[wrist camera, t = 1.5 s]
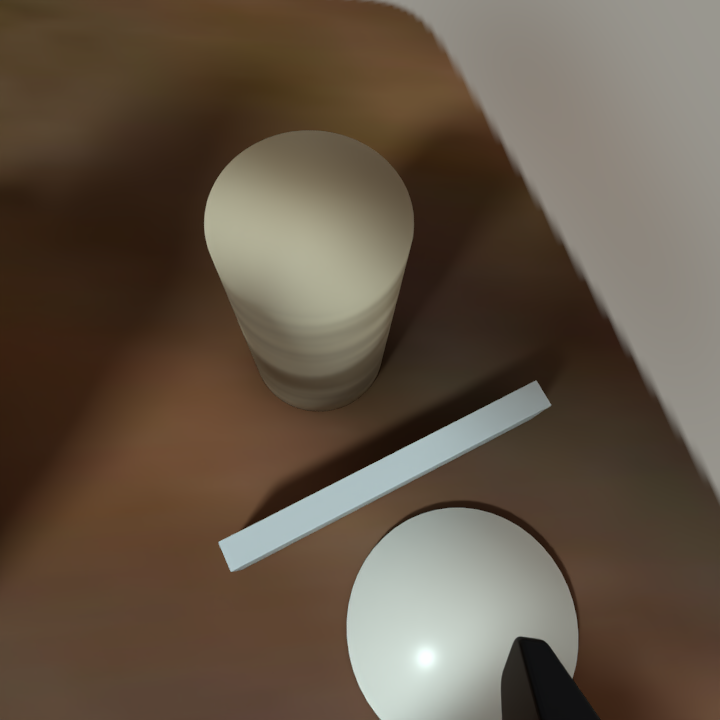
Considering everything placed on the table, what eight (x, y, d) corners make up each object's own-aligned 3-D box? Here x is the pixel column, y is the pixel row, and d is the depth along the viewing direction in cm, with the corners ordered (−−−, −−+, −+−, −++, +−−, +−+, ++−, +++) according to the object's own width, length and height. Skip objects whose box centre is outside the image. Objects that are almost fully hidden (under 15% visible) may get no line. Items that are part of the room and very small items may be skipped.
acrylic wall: (242, 569, 22) (230, 571, 19) (230, 543, 22) (218, 542, 20) (529, 419, 24) (551, 405, 21) (516, 397, 24) (536, 380, 22)
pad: (547, 793, 20) (550, 796, 20) (314, 710, 20) (314, 712, 20) (595, 548, 22) (598, 548, 22) (385, 479, 23) (386, 478, 23)
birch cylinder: (360, 428, 23) (378, 344, 14) (236, 388, 24) (170, 277, 14) (398, 312, 25) (438, 164, 15) (281, 275, 25) (249, 106, 16)
